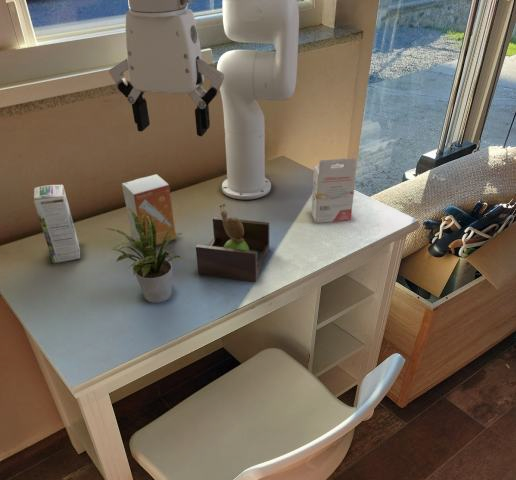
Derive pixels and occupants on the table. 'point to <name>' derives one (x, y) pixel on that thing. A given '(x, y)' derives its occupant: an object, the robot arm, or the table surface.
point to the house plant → (150, 261)
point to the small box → (150, 205)
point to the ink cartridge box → (333, 190)
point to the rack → (234, 252)
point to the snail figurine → (233, 232)
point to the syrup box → (57, 222)
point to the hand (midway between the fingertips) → (172, 130)
